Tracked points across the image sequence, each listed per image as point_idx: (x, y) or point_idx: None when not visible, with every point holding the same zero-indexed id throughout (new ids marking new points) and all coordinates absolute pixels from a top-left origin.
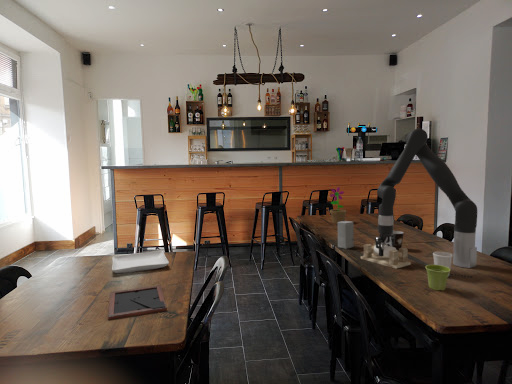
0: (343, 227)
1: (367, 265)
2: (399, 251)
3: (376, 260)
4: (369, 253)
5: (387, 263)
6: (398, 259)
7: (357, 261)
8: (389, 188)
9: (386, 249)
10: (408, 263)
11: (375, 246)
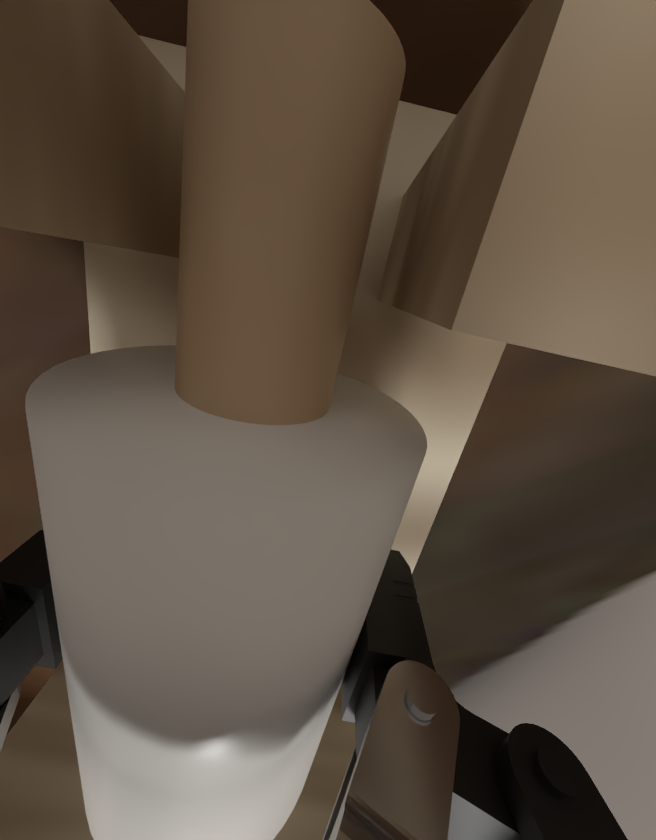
0: None
1: (580, 547)
2: (82, 214)
3: (408, 540)
4: (339, 695)
5: (472, 367)
6: (114, 328)
7: (476, 660)
8: None
9: (360, 603)
10: (164, 50)
11: (279, 821)
